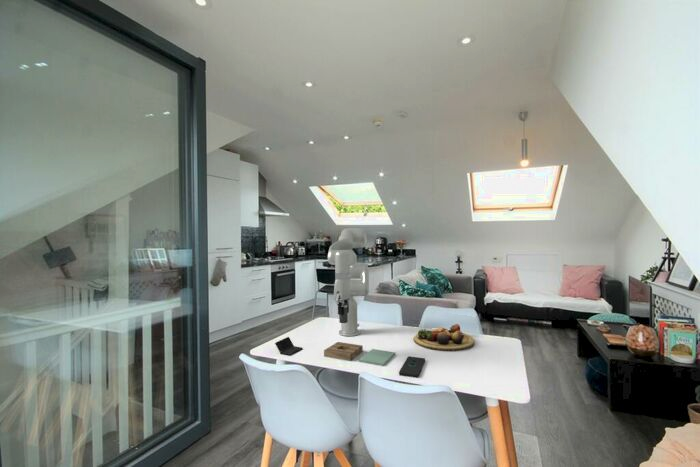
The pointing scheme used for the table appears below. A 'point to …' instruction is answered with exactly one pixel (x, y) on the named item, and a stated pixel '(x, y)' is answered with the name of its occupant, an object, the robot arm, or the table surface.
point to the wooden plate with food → (444, 339)
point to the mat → (377, 357)
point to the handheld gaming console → (287, 347)
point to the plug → (344, 317)
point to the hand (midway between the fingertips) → (343, 313)
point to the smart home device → (412, 367)
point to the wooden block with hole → (343, 351)
